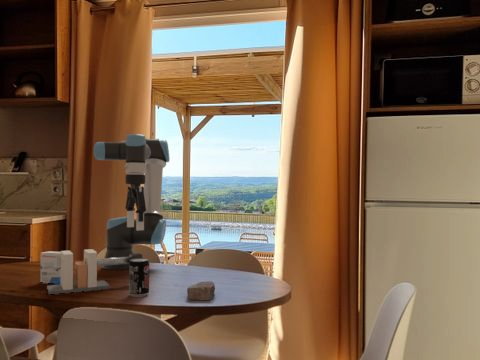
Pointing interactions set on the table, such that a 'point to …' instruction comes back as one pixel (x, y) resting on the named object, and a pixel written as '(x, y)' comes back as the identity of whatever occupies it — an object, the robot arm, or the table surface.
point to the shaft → (118, 260)
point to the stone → (201, 291)
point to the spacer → (80, 274)
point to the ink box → (50, 267)
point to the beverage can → (138, 277)
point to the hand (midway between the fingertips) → (135, 228)
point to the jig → (67, 274)
